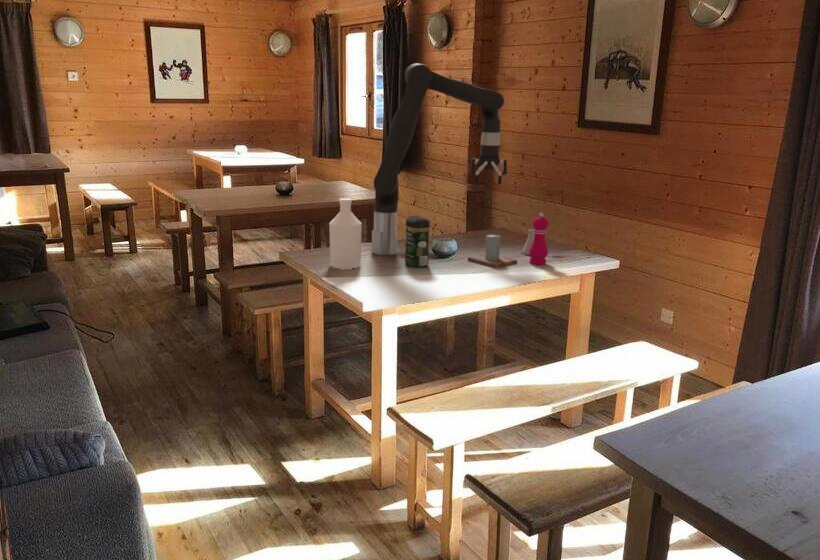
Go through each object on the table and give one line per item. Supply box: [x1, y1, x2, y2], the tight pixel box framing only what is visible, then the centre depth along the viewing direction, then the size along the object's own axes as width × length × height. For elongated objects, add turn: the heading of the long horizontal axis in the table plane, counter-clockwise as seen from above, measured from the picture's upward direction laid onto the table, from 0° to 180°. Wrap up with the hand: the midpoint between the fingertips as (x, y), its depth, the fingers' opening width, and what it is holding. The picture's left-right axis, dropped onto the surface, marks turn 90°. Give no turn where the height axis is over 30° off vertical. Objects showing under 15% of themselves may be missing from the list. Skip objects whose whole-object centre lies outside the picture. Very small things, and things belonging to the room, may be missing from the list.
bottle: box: [328, 197, 363, 270], centre depth 249 cm, size 12×12×25 cm
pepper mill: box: [529, 212, 550, 266], centre depth 261 cm, size 7×7×20 cm
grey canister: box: [485, 234, 501, 260], centre depth 263 cm, size 5×5×9 cm
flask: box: [521, 228, 534, 256], centre depth 279 cm, size 7×7×10 cm
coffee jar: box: [404, 215, 431, 268], centre depth 254 cm, size 10×8×19 cm
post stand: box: [467, 253, 518, 268], centre depth 264 cm, size 13×14×6 cm
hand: (487, 184), depth 272 cm, fingers open, 8 cm apart
